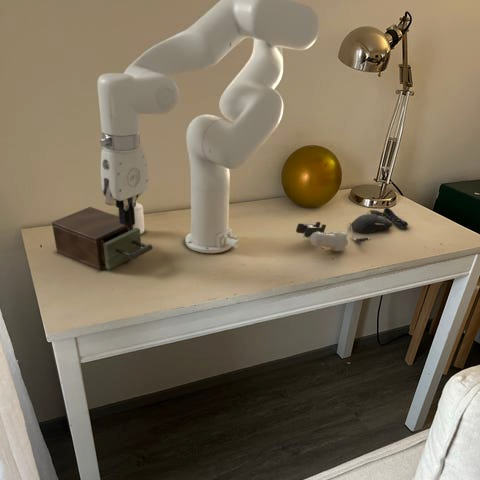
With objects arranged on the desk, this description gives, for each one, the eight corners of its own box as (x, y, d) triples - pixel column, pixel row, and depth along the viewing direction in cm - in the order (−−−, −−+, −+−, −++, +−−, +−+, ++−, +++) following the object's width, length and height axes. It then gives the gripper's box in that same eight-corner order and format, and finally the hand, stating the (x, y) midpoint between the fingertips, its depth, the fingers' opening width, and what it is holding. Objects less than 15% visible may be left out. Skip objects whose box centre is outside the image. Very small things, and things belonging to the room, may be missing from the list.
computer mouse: (336, 217, 150) (338, 204, 148) (387, 212, 155) (390, 200, 153) (356, 234, 141) (358, 221, 138) (410, 229, 145) (413, 216, 143)
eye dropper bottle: (145, 236, 134) (142, 192, 127) (124, 237, 133) (120, 194, 126) (143, 229, 137) (141, 186, 130) (122, 230, 136) (118, 187, 129)
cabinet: (135, 251, 127) (133, 221, 122) (99, 270, 118) (95, 239, 113) (93, 235, 133) (90, 206, 128) (57, 252, 124) (51, 222, 120)
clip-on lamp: (347, 242, 143) (292, 235, 136) (354, 220, 141) (298, 212, 133) (370, 257, 134) (312, 251, 126) (378, 234, 131) (319, 227, 124)
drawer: (159, 259, 122) (158, 235, 118) (128, 277, 114) (125, 252, 111) (102, 237, 130) (99, 214, 127) (69, 252, 123) (65, 228, 119)
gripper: (108, 152, 97) (115, 239, 107) (159, 137, 107) (161, 218, 118) (80, 144, 100) (90, 230, 110) (133, 130, 110) (137, 210, 121)
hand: (127, 223), depth 114 cm, fingers closed
